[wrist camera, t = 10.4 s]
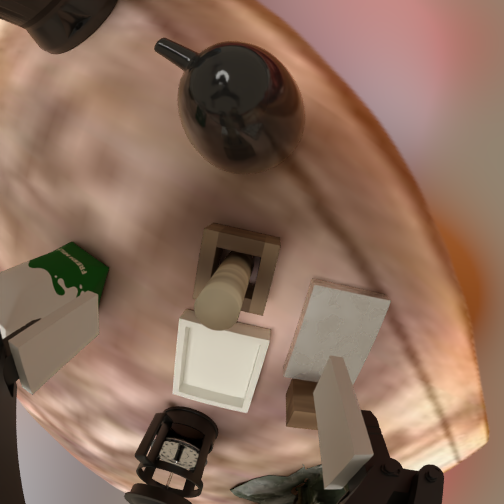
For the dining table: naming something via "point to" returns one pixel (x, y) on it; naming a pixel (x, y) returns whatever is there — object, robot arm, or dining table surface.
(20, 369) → the robot arm
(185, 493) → the french press
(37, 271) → the milk carton
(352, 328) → the plate
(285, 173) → the dining table surface
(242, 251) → the socket block
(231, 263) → the dowel
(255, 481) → the rose bouquet
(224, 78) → the pump dispenser
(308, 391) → the wooden block
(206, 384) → the tray
